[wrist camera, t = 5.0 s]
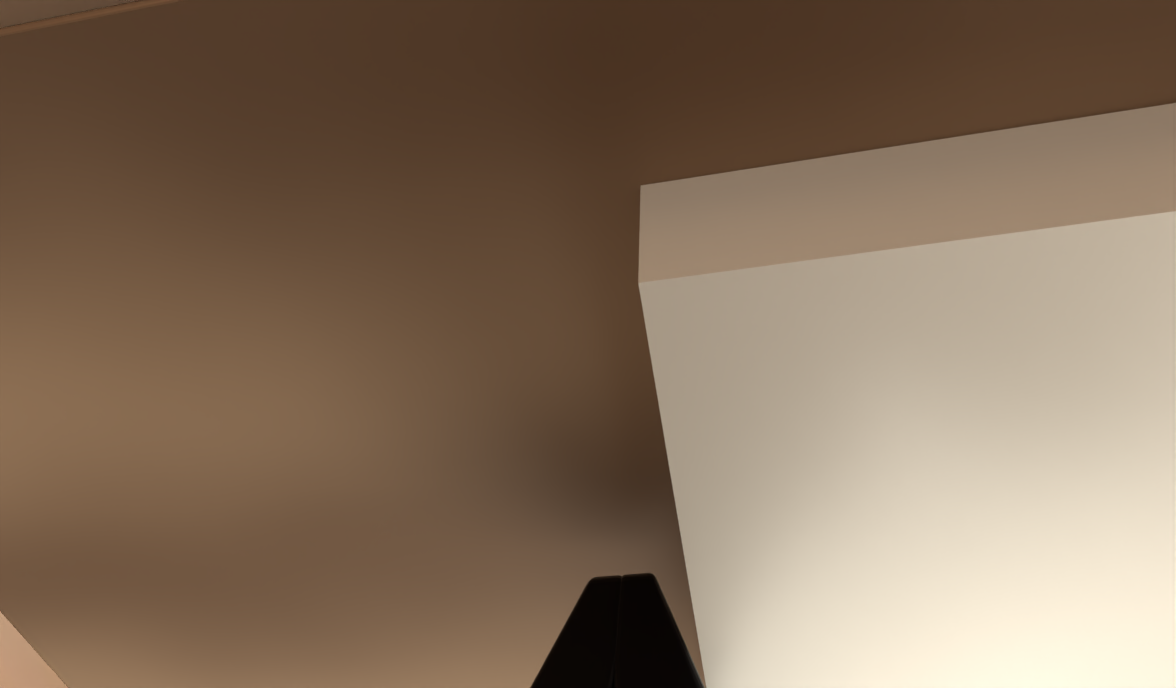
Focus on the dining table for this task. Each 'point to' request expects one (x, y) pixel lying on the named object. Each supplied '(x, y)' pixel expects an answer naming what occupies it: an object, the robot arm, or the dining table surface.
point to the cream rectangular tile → (926, 408)
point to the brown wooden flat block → (408, 300)
